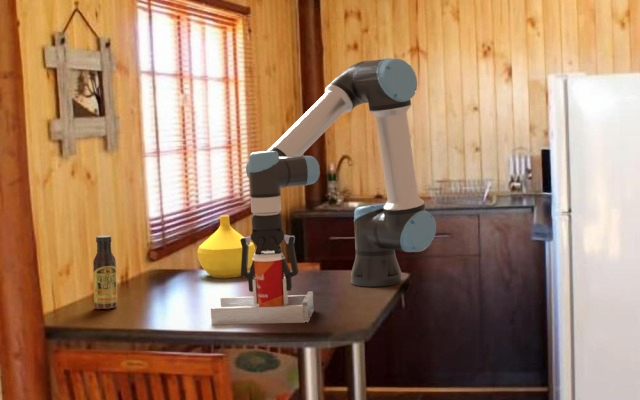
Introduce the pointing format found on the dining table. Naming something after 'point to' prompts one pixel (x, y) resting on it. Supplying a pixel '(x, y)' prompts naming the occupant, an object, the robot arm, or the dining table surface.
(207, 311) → the dining table surface
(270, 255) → the coffee cup
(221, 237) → the vase
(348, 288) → the dining table surface
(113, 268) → the sauce bottle
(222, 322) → the channel
